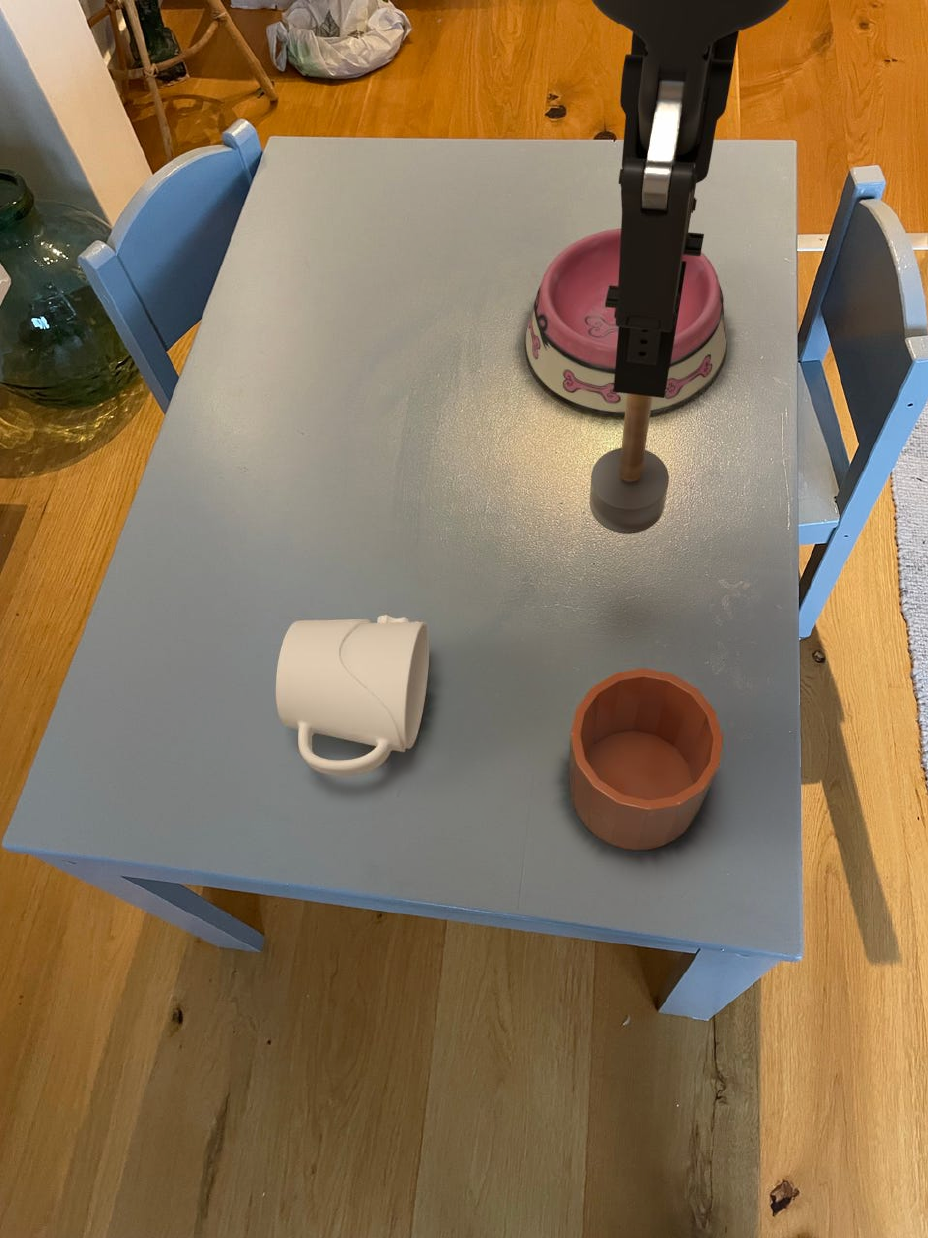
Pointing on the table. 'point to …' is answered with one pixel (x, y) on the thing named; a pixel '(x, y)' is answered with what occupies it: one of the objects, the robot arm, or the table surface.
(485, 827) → the table surface
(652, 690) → the crock
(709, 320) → the dog bowl
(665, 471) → the toilet plunger
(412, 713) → the mug
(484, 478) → the table surface
